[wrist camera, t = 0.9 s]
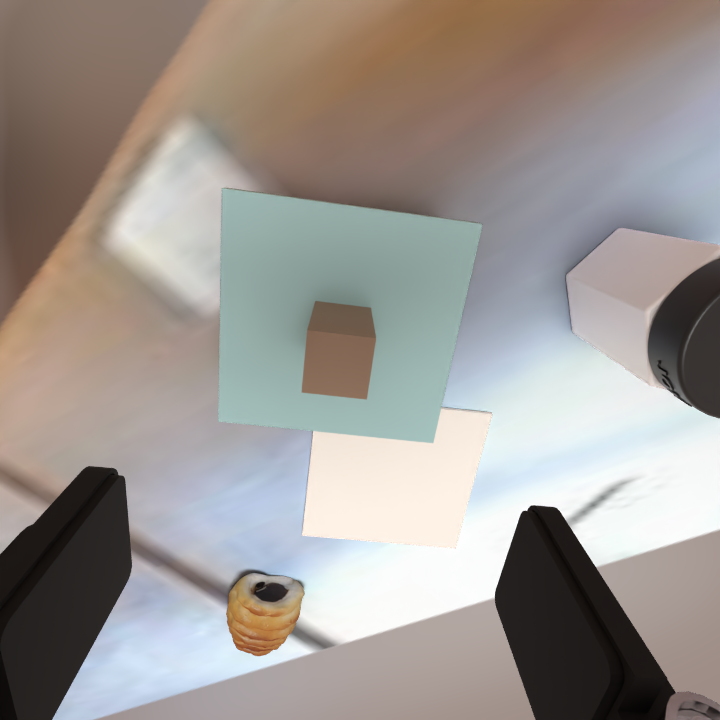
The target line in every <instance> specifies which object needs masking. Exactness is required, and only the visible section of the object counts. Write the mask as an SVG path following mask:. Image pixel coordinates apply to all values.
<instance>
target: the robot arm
mask: <svg viewBox="0 0 720 720" xmlns="http://www.w3.org/2000/svg"><path fill="white" fill-rule="evenodd" d="M131 568H132V559H131V547H130V534H129V522H128V509H127V497H126V484H125V478H124V476H120V475H118V472H117V470H116V469H114V468H104V467H93V466H88V467H86V468H85V469H83V470H82V471H81V472H80V474H79V475H78V476H77V477H76V478H75V479H74V480H73V481H72V482H71V483H70V485H69V486H68V487H67V488H66V489H65V490H64V491H63V492H62V493H61V494H60V496H59V497H58V498H57V499H56V500H55V501H54V502H53V503H52V504H51V505H50V506H49V508H48V509H47V510H46V511H45V512H44V513H43V514H42V515H41V516H40V517H39V519H38V520H37V521H36V522H35V523H34V524H33V525H30V526H28V527H26V528H25V529H24V530H23V531H22V532H21V533H20V534H19V535H18V536H17V537H16V538H15V539H14V540H13V541H12V542H11V543H10V545H9V546H8V547H7V548H6V549H5V550H4V551H3V552H2V553H1V554H0V720H52V719H53V717H54V715H55V713H56V711H57V710H58V708H59V706H60V704H61V702H62V700H63V699H64V697H65V695H66V693H67V691H68V689H69V688H70V686H71V684H72V682H73V680H74V678H75V677H76V675H77V673H78V671H79V669H80V668H81V666H82V664H83V662H84V660H85V658H86V657H87V655H88V653H89V651H90V649H91V647H92V646H93V644H94V642H95V640H96V638H97V636H98V635H99V633H100V631H101V629H102V627H103V625H104V624H105V622H106V620H107V618H108V616H109V614H110V613H111V611H112V609H113V607H114V605H115V604H116V602H117V600H118V598H119V596H120V594H121V593H122V591H123V589H124V587H125V585H126V583H127V581H128V579H129V576H130V573H131ZM495 603H496V608H497V611H498V614H499V617H500V619H501V622H502V625H503V628H504V631H505V634H506V636H507V639H508V642H509V645H510V648H511V651H512V653H513V657H514V659H515V662H516V665H517V668H518V671H519V674H520V677H521V679H522V682H523V685H524V688H525V691H526V694H527V697H528V699H529V702H530V705H531V708H532V711H533V713H534V717H535V719H536V720H720V705H719V704H718V703H717V702H715V701H713V700H711V699H708V698H707V697H705V696H703V695H700V694H696V693H692V692H677V693H676V692H675V691H674V689H673V688H672V686H671V685H670V683H669V682H668V680H667V677H666V676H665V674H664V673H663V671H662V670H661V668H660V666H659V665H658V663H657V662H656V660H655V659H654V657H653V656H652V654H651V652H650V651H649V649H648V648H647V647H646V645H645V643H644V642H643V640H642V638H641V637H640V635H639V634H638V632H637V631H636V629H635V628H634V626H633V624H632V623H631V621H630V620H629V618H628V617H627V615H626V614H625V612H624V611H623V609H622V607H621V606H620V604H619V603H618V601H617V600H616V598H615V596H614V595H613V593H612V592H611V590H610V589H609V587H608V586H607V584H606V583H605V581H604V580H603V578H602V576H601V575H600V573H599V572H598V570H597V568H596V567H595V565H594V564H593V562H592V561H591V559H590V558H589V556H588V555H587V553H586V551H585V550H584V548H583V547H582V545H581V544H580V542H579V541H578V539H577V537H576V536H575V534H574V533H573V531H572V530H571V528H570V527H569V525H568V523H567V522H566V520H565V519H564V517H563V516H562V514H561V513H560V511H559V510H558V509H557V508H555V507H546V506H535V505H533V506H530V507H529V508H528V510H527V511H523V512H522V513H521V515H520V518H519V521H518V524H517V527H516V530H515V533H514V536H513V539H512V542H511V545H510V548H509V551H508V554H507V557H506V560H505V564H504V567H503V570H502V573H501V576H500V579H499V582H498V585H497V588H496V591H495Z"/></svg>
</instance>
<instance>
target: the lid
mask: <svg viewBox="0 0 720 720" xmlns="http://www.w3.org/2000/svg"><path fill="white" fill-rule="evenodd" d="M482 225H483V224H480V223H477V222H470V221H463V220H456V219H448V218H441V217H434V216H427V215H420V214H412V213H405V212H398V211H391V210H384V209H376V208H369V207H362V206H355V205H347V204H340V203H333V202H326V201H319V200H311V199H304V198H297V197H290V196H282V195H275V194H268V193H261V192H254V191H246V190H239V189H232V188H222V213H221V278H220V343H219V408H218V422H228V423H238V424H248V425H258V426H268V427H278V428H287V429H297V430H307V431H317V432H327V433H337V434H347V435H356V436H366V437H376V438H386V439H396V440H406V441H416V442H426V443H433V442H434V438H435V433H436V429H437V425H438V420H439V416H440V411H441V407H442V402H443V398H444V394H445V389H446V385H447V380H448V376H449V371H450V367H451V363H452V358H453V354H454V349H455V345H456V340H457V336H458V332H459V327H460V323H461V318H462V314H463V309H464V305H465V301H466V296H467V292H468V287H469V283H470V278H471V274H472V270H473V265H474V261H475V256H476V252H477V247H478V243H479V239H480V234H481V230H482Z"/></svg>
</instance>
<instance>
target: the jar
mask: <svg viewBox="0 0 720 720" xmlns="http://www.w3.org/2000/svg"><path fill="white" fill-rule="evenodd" d="M566 282H567V291H568V299H569V308H570V316H571V325H572V332H573V333H574V334H575V335H576V336H578V337H579V338H581V339H582V340H584V341H585V342H587V343H588V344H590V345H591V346H592V347H594V348H595V349H597V350H598V351H600V352H601V353H603V354H604V355H606V356H607V357H609V358H610V359H611V360H613V361H614V362H616V363H617V364H619V365H620V366H622V367H623V368H625V369H626V370H628V371H629V372H631V373H632V374H633V375H635V376H636V377H638V378H639V379H641V380H642V381H644V382H645V383H647V384H648V385H650V386H653V387H658V388H662V389H667V390H669V391H670V392H671V393H673V394H674V396H675V397H677V398H678V399H680V400H681V401H683V402H684V403H686V404H688V405H689V406H691V407H692V406H693V407H695V408H696V409H698V410H700V411H701V412H703V413H705V414H707V415H710V416H713V417H716V418H720V245H717V244H711V243H706V242H700V241H694V240H689V239H683V238H677V237H672V236H666V235H660V234H655V233H649V232H643V231H638V230H632V229H626V228H618V229H617V230H616V231H614V232H613V233H612V234H611V235H610V236H609V237H608V238H607V239H606V240H604V241H603V242H602V243H601V244H600V245H599V246H598V247H597V248H596V249H594V250H593V251H592V252H591V253H590V254H589V255H588V256H587V257H586V258H584V259H583V260H582V261H581V262H580V263H579V264H578V265H577V266H576V267H574V268H573V269H572V270H571V271H570V272H569V273H568V274H567V275H566Z"/></svg>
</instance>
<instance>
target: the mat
mask: <svg viewBox="0 0 720 720" xmlns="http://www.w3.org/2000/svg"><path fill="white" fill-rule="evenodd" d="M491 418H492V413H491V412H482V411H473V410H463V409H454V408H445V407H441V411H440V416H439V420H438V425H437V429H436V433H435V438H434V442H433V443H426V442H416V441H406V440H396V439H386V438H376V437H366V436H356V435H347V434H337V433H327V432H317V431H313V438H312V448H311V457H310V466H309V476H308V485H307V494H306V504H305V513H304V522H303V532H302V536H313V537H325V538H337V539H349V540H361V541H373V542H384V543H396V544H408V545H420V546H432V547H444V548H455V549H456V545H457V541H458V538H459V534H460V530H461V527H462V523H463V520H464V516H465V512H466V509H467V505H468V501H469V498H470V494H471V491H472V487H473V483H474V480H475V476H476V472H477V469H478V465H479V462H480V458H481V454H482V451H483V447H484V443H485V440H486V436H487V433H488V429H489V425H490V422H491Z"/></svg>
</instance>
